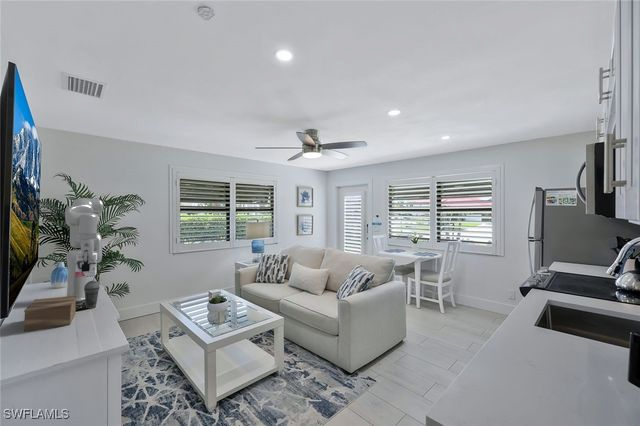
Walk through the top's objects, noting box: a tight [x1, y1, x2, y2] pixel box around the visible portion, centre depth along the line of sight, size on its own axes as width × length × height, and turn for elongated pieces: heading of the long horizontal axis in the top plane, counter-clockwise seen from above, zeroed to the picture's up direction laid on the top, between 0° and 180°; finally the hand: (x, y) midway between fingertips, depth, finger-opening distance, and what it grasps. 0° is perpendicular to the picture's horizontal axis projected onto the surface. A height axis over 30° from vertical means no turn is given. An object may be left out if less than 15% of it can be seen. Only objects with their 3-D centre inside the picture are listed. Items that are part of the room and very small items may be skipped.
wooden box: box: [23, 299, 77, 332], centre depth 141 cm, size 18×16×9 cm
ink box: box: [75, 253, 98, 277], centre depth 150 cm, size 8×5×12 cm, turn 125°
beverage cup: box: [84, 275, 100, 309], centre depth 164 cm, size 7×7×20 cm
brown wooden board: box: [23, 295, 77, 313], centre depth 141 cm, size 18×16×1 cm
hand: (86, 269), depth 150 cm, fingers closed on ink box, 5 cm apart
